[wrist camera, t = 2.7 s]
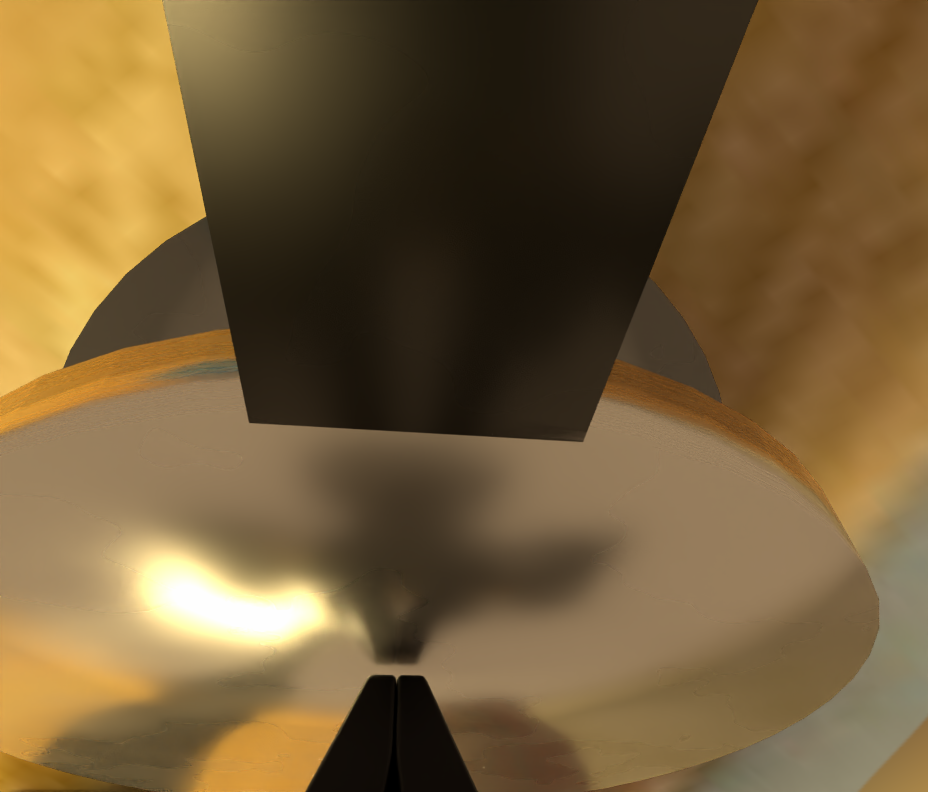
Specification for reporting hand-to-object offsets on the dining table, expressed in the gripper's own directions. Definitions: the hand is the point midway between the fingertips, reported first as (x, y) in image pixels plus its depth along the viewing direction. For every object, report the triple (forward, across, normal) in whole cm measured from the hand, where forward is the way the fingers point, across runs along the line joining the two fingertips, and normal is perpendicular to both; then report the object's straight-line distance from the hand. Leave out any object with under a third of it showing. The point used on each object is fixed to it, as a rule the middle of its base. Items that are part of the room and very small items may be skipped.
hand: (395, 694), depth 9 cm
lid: (+2, 0, 0) cm, 2 cm away
